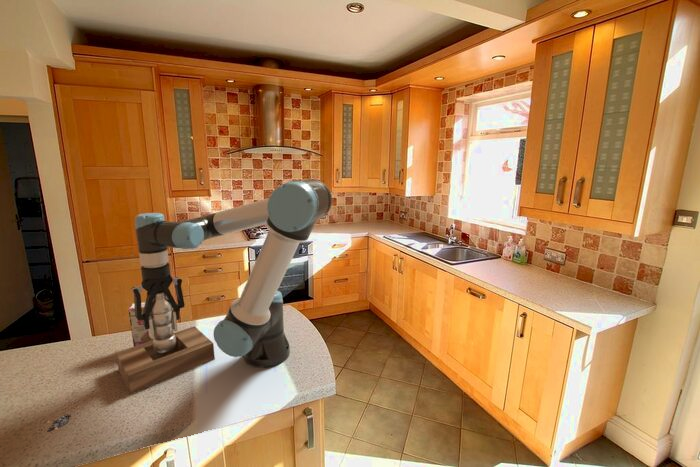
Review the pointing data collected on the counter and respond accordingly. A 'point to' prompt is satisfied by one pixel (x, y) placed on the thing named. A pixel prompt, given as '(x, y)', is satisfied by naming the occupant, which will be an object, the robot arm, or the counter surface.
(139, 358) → the bottle caddy
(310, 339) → the counter surface
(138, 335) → the candy bar box
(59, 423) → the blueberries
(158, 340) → the plastic bottle
